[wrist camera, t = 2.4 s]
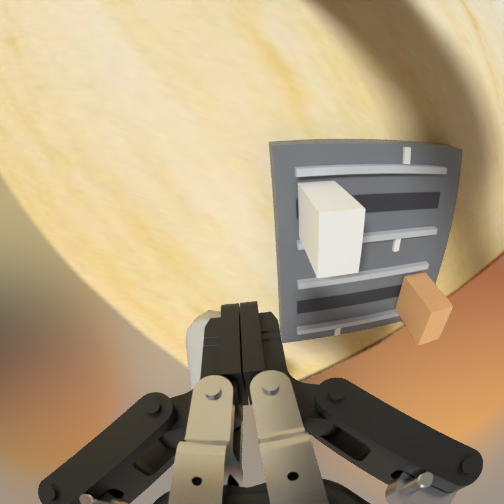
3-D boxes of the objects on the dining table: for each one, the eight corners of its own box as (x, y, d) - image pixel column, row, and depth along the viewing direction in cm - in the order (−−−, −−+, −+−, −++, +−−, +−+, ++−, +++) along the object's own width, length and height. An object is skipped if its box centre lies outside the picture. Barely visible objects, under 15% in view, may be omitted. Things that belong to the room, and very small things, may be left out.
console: (269, 142, 20) (273, 147, 18) (449, 145, 20) (466, 151, 18) (280, 329, 30) (283, 347, 28) (416, 304, 30) (426, 318, 28)
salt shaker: (250, 314, 29) (260, 428, 18) (228, 346, 31) (230, 449, 20) (198, 296, 27) (185, 414, 16) (181, 331, 30) (166, 437, 18)
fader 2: (404, 276, 25) (431, 312, 20) (425, 272, 25) (453, 306, 20) (395, 308, 27) (417, 345, 22) (415, 304, 27) (438, 338, 22)
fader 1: (297, 183, 19) (319, 212, 15) (334, 180, 19) (365, 208, 15) (299, 236, 22) (317, 278, 17) (332, 233, 22) (358, 272, 17)
